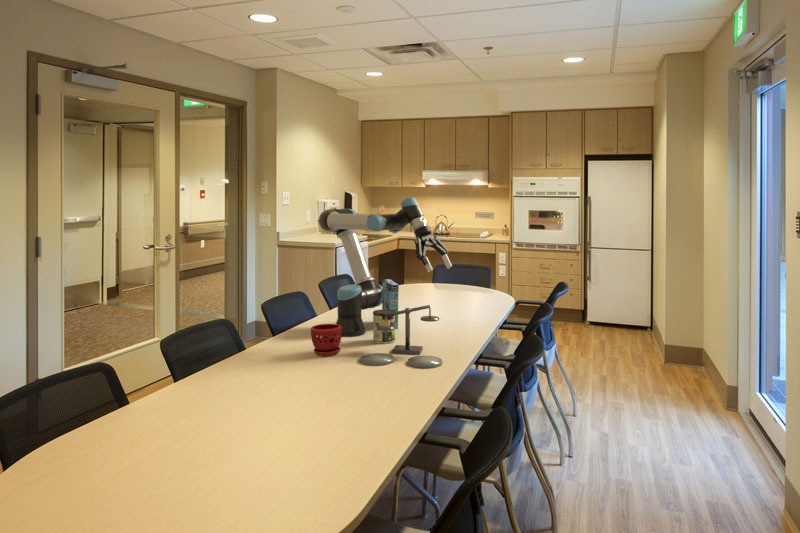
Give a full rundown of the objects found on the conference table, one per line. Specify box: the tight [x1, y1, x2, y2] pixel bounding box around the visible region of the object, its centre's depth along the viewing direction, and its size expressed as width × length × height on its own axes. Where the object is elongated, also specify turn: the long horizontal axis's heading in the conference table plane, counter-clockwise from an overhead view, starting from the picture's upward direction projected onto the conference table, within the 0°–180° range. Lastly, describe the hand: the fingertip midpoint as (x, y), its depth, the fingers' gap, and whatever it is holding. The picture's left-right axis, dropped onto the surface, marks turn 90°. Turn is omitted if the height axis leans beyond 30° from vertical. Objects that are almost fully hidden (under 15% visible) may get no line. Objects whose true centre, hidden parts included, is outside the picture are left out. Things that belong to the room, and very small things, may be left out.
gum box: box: [381, 278, 399, 330], centre depth 304 cm, size 19×5×23 cm, turn 13°
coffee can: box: [372, 309, 396, 345], centre depth 272 cm, size 10×10×14 cm
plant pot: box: [310, 323, 342, 357], centre depth 251 cm, size 13×13×12 cm
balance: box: [377, 304, 440, 356], centre depth 253 cm, size 27×8×21 cm, turn 79°
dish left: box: [359, 352, 395, 367], centre depth 241 cm, size 14×14×1 cm
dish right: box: [407, 355, 443, 369], centre depth 237 cm, size 14×14×1 cm
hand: (440, 269), depth 264 cm, fingers open, 13 cm apart
